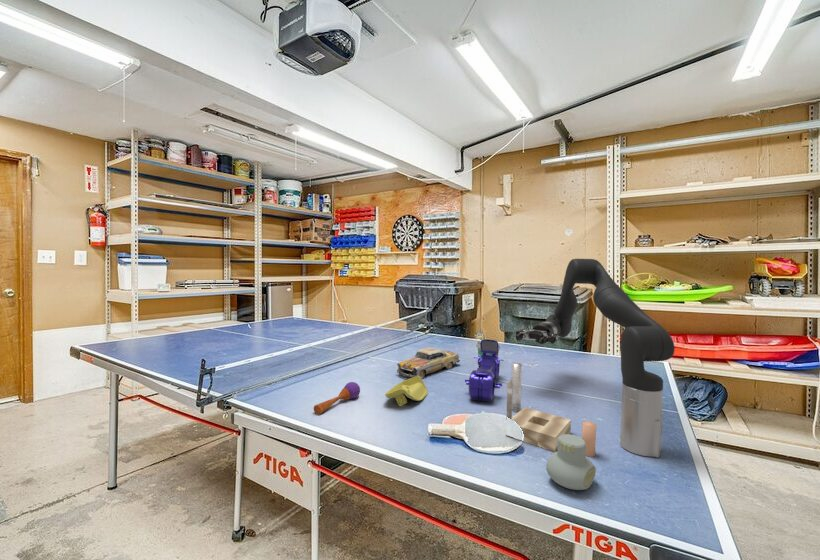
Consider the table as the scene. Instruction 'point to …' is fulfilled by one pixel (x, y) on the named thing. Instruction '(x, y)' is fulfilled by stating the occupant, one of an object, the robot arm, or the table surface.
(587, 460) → the air freshener
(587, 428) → the terracotta pin
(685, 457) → the table surface
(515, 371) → the steel pin
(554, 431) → the socket block
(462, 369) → the table surface
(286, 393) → the table surface
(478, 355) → the food container
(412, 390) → the plastic component
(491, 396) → the motorcycle
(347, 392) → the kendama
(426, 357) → the car
